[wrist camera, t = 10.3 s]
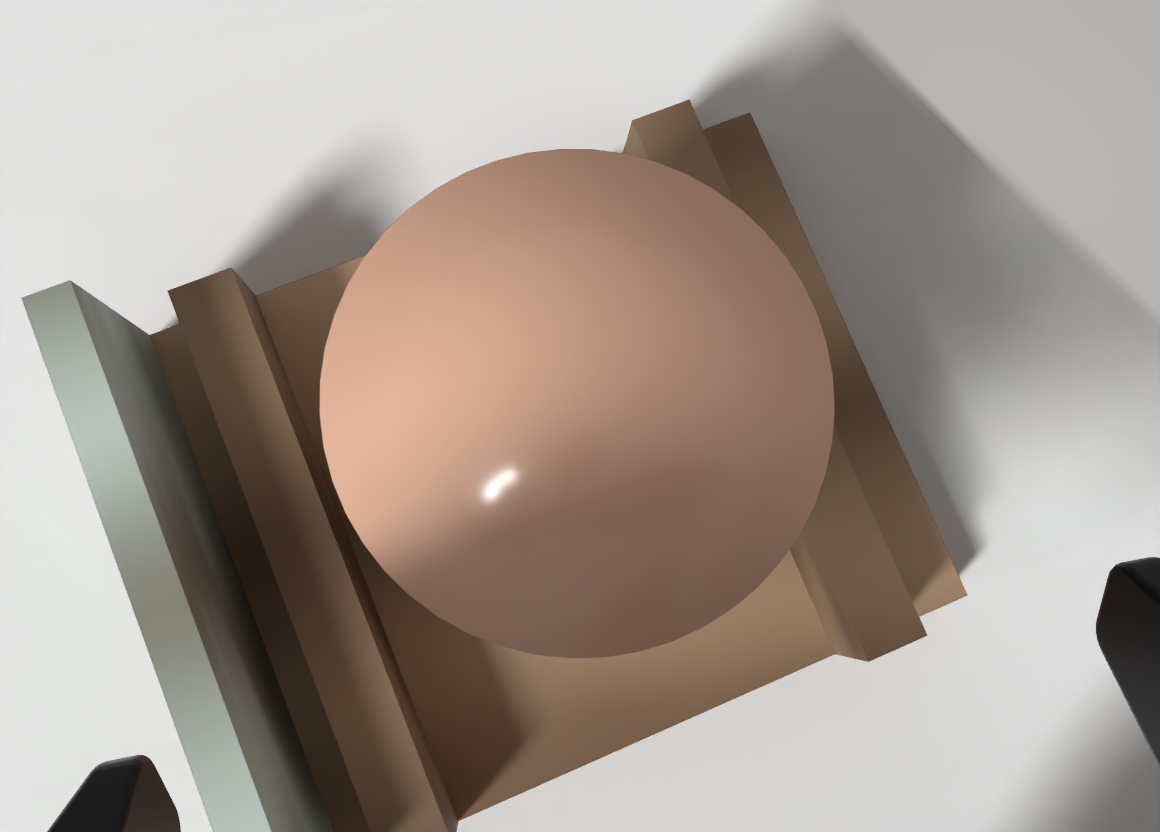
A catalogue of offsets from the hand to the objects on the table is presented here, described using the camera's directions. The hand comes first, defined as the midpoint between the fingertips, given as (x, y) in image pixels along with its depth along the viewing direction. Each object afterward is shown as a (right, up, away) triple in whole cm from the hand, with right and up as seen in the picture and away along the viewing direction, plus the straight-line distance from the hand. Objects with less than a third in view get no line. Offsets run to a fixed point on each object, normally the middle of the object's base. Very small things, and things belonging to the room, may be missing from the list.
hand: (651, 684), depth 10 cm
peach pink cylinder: (-1, +1, +12) cm, 12 cm away
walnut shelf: (-1, +1, +13) cm, 13 cm away
